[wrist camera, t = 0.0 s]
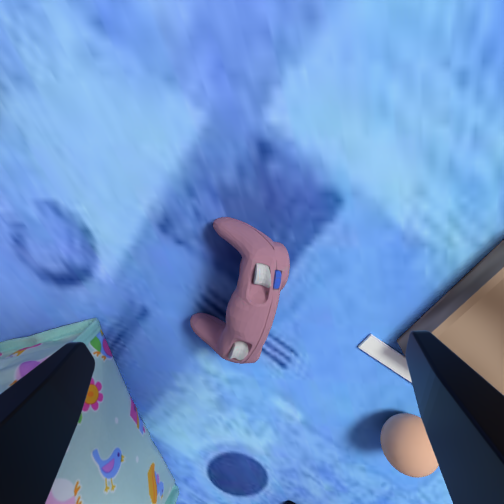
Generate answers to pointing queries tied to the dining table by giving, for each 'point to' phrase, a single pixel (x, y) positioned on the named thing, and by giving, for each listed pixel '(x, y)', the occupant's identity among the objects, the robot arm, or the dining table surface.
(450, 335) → the tray
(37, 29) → the dining table surface
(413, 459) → the ball
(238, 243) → the video game controller
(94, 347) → the lunch bag
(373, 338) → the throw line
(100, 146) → the dining table surface
